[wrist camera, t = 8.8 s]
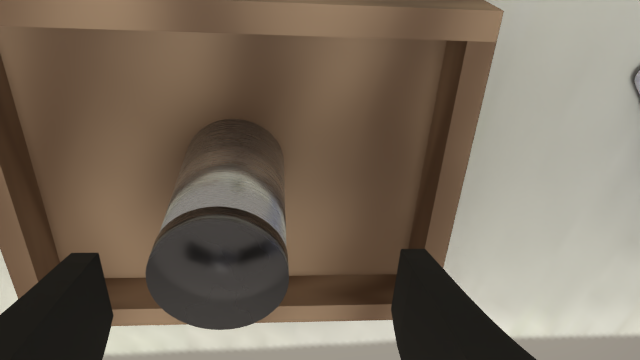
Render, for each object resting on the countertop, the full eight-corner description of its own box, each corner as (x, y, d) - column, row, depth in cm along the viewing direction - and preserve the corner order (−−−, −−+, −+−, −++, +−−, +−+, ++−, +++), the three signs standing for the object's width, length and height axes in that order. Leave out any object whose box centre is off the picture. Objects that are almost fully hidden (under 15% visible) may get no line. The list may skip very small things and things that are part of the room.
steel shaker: (304, 172, 21) (316, 289, 15) (228, 220, 22) (210, 348, 16) (243, 98, 19) (228, 197, 13) (163, 153, 20) (114, 270, 14)
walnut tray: (476, -4, 18) (503, 11, 16) (417, 282, 25) (431, 318, 23) (-46, -26, 16) (-94, -12, 14) (51, 287, 23) (28, 327, 21)
